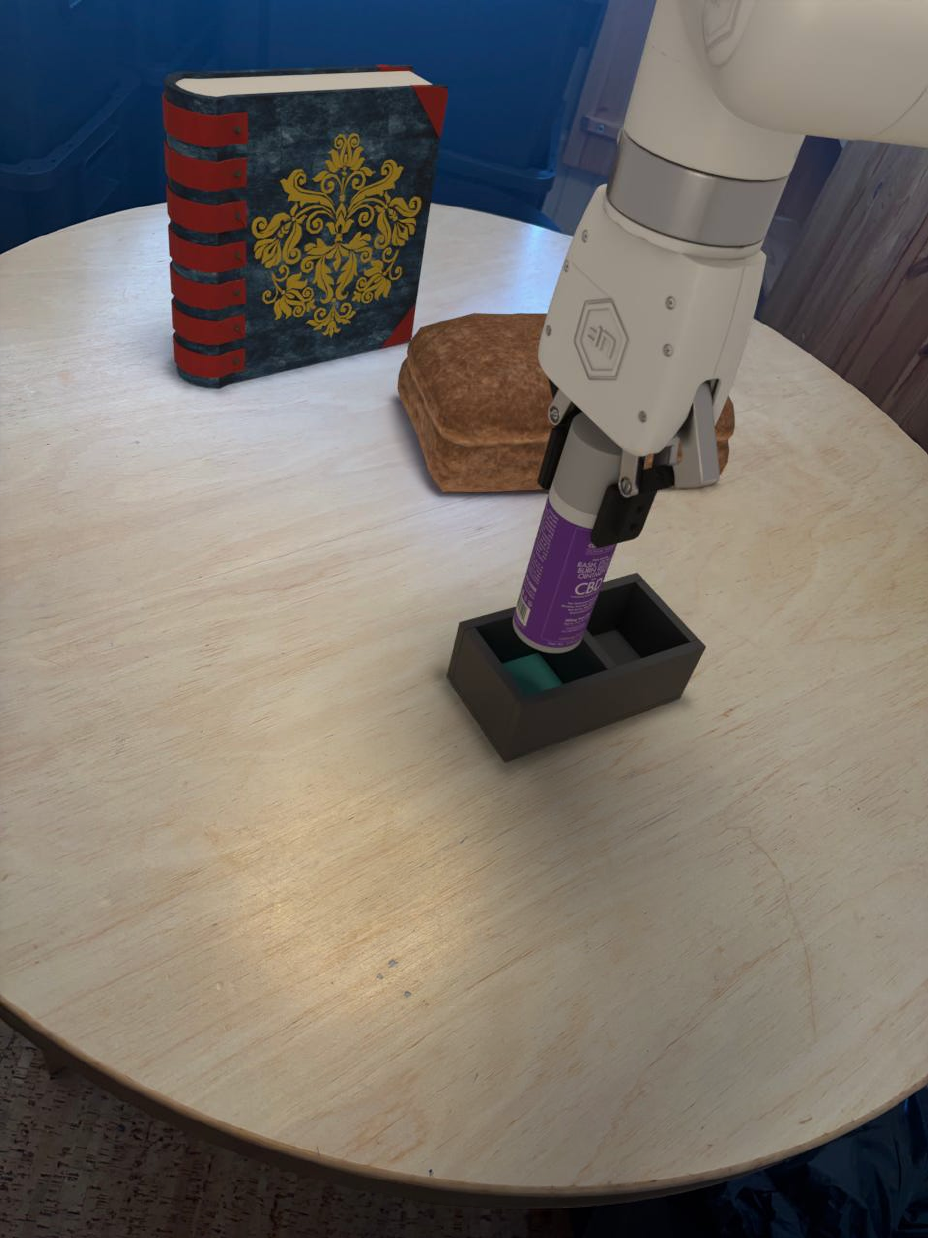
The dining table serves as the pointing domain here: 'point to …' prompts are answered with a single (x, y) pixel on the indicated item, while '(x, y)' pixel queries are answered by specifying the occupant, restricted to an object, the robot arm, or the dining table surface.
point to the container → (569, 544)
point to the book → (295, 213)
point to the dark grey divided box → (573, 670)
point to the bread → (490, 402)
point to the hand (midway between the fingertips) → (587, 508)
